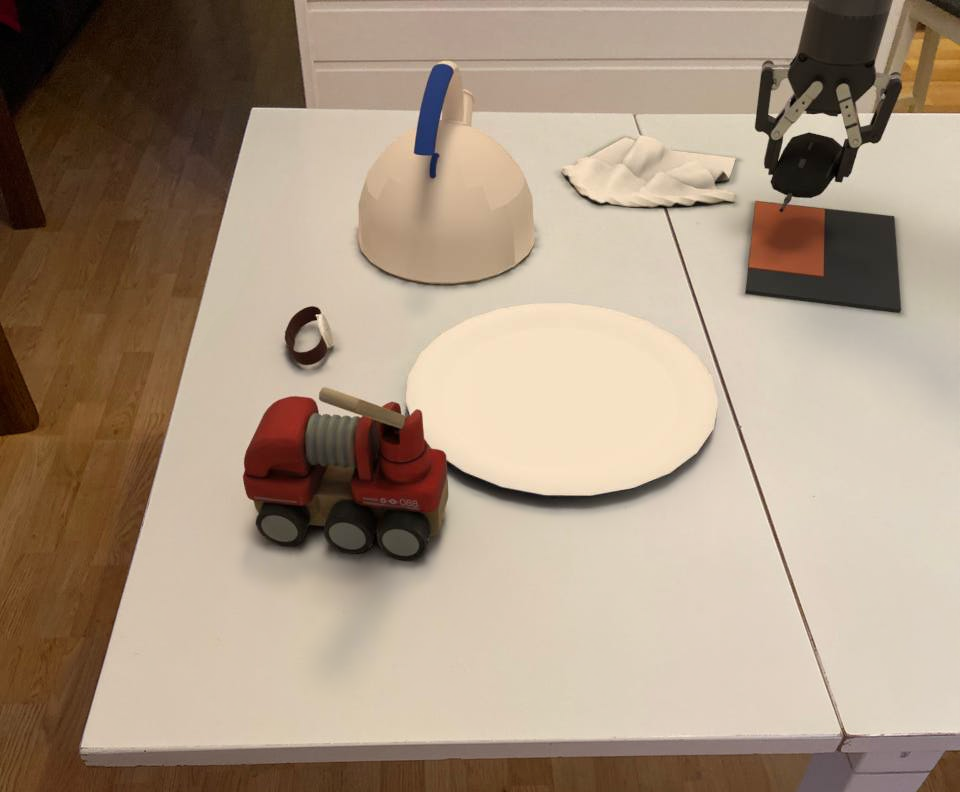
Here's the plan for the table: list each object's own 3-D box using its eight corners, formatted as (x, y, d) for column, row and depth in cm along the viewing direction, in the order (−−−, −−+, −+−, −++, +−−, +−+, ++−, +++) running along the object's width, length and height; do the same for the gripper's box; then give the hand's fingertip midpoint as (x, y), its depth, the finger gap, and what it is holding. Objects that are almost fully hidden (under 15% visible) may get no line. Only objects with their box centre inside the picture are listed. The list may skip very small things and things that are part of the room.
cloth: (538, 175, 120) (539, 155, 118) (658, 124, 129) (661, 105, 127) (659, 239, 110) (662, 218, 108) (780, 179, 119) (785, 159, 117)
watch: (335, 368, 94) (330, 336, 92) (286, 372, 94) (280, 340, 91) (333, 324, 99) (328, 292, 96) (287, 327, 99) (281, 295, 96)
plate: (366, 351, 96) (364, 336, 95) (626, 291, 103) (628, 277, 102) (473, 545, 79) (473, 531, 78) (776, 458, 86) (781, 443, 85)
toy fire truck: (280, 475, 85) (241, 293, 71) (454, 495, 83) (449, 313, 69) (238, 568, 78) (186, 386, 64) (427, 592, 76) (415, 410, 62)
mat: (893, 219, 113) (894, 214, 112) (900, 312, 101) (901, 308, 100) (755, 203, 115) (756, 199, 115) (745, 293, 103) (746, 288, 102)
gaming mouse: (751, 205, 101) (760, 166, 98) (791, 148, 109) (800, 111, 106) (810, 219, 99) (821, 180, 96) (846, 160, 107) (857, 123, 104)
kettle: (546, 201, 115) (556, 32, 101) (520, 295, 103) (527, 117, 89) (382, 186, 118) (369, 20, 104) (337, 276, 105) (315, 100, 91)
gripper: (772, 5, 89) (735, 184, 102) (933, 18, 87) (874, 199, 100) (775, -22, 94) (739, 153, 107) (928, -10, 92) (872, 166, 105)
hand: (805, 175), depth 104 cm, fingers closed on gaming mouse, 6 cm apart
